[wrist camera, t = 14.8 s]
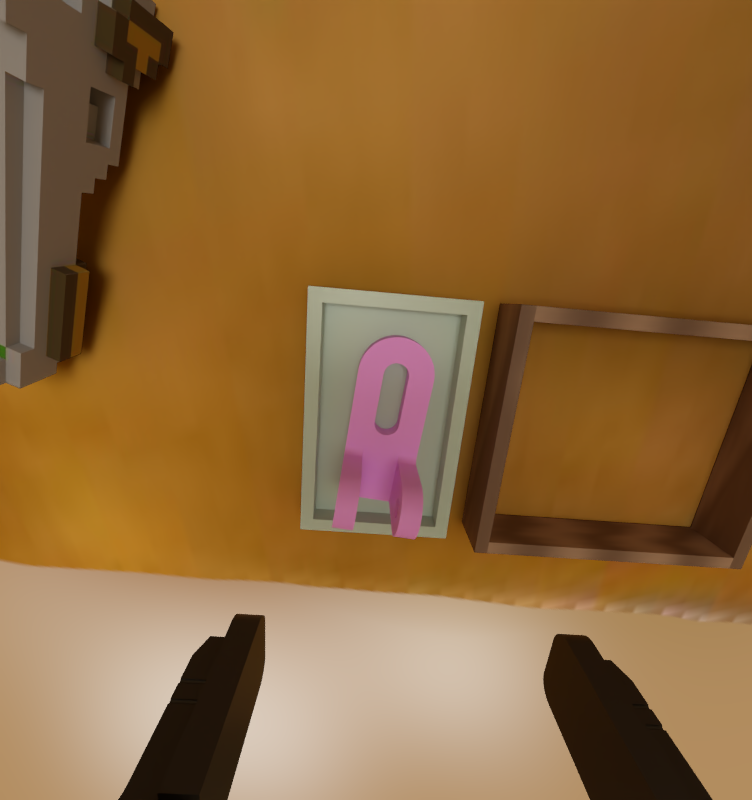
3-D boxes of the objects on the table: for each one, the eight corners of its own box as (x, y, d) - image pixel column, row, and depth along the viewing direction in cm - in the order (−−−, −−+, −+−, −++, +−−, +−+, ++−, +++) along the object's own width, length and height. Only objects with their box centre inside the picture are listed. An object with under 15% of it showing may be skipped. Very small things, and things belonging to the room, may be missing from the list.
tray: (474, 301, 27) (484, 301, 24) (440, 520, 32) (445, 538, 30) (313, 286, 26) (308, 285, 24) (305, 511, 32) (300, 529, 29)
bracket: (404, 495, 30) (414, 551, 23) (338, 485, 30) (329, 539, 23) (438, 342, 27) (461, 357, 20) (364, 329, 26) (363, 339, 20)
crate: (778, 328, 28) (844, 333, 24) (697, 537, 33) (741, 569, 29) (500, 303, 27) (522, 304, 23) (462, 521, 32) (474, 552, 28)
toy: (185, 21, 22) (30, -122, 13) (129, 351, 32) (20, 400, 23) (95, -32, 21) (-137, -224, 12) (66, 323, 31) (-71, 362, 22)
